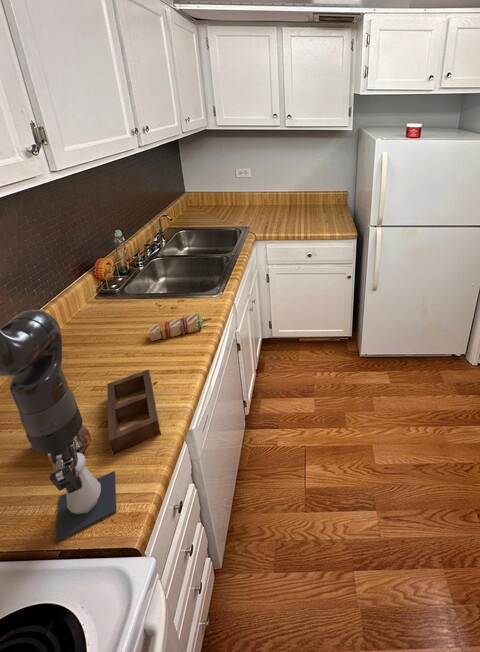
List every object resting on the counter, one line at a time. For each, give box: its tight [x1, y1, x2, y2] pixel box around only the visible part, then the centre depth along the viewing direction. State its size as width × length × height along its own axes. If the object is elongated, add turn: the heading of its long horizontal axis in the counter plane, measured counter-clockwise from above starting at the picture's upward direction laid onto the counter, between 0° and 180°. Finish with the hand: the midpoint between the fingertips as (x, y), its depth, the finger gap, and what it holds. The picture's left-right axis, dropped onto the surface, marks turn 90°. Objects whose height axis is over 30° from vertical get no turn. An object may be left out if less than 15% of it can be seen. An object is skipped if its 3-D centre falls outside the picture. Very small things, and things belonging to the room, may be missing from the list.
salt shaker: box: [65, 453, 101, 514], centre depth 66 cm, size 6×6×13 cm
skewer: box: [148, 313, 212, 342], centre depth 119 cm, size 21×6×5 cm, turn 115°
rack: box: [106, 369, 162, 456], centre depth 87 cm, size 10×19×5 cm, turn 31°
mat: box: [54, 470, 117, 544], centre depth 68 cm, size 10×9×1 cm
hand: (76, 477), depth 65 cm, fingers closed on salt shaker, 4 cm apart
